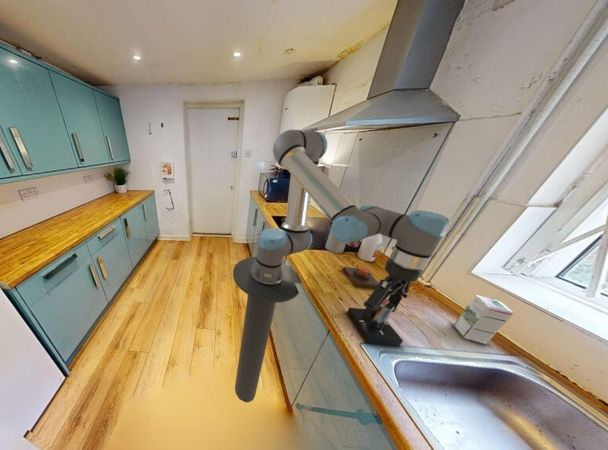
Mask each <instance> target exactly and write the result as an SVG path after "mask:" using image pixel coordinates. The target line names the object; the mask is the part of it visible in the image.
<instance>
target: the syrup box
mask: <svg viewBox="0 0 608 450" xmlns="http://www.w3.org/2000/svg"><path fill="white" fill-rule="evenodd" d="M513 315H515V312H514V311H513V310H511V308H509V307H508V306H507V305H505V304H504V303H503V302H502V301H501V300H499V299H496V298H492V297H488V296H484V295H477V294H476V295H474V297H473V298H472V300H471V301H470V302H469V304H468V305H467V306H466V308H465V309H464V310H463V311H462V313H461V314H460V315H459V317H458V318H457V319H456V321H455V322H454V323H453V327H454V328H455V329H456V330H457V331H458V332H459V334H460V335H461V337H463V339H466V340H468V341H473V342H476V343H481V344H484V345H487V344H488V343H490V341H491V340H492V338H493V337H494V336H495V335H496V334H497V333H498V332H499V330H501V328H502V327H504V325H505V324H506V323H507V322H508V321H509V320H510V319H511V317H512V316H513Z"/></svg>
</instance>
